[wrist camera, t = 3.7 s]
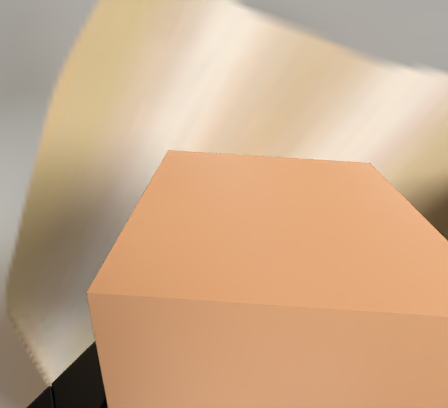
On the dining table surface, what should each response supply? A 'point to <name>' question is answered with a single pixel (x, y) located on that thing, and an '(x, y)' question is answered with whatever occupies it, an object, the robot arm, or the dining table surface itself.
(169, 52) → the dining table surface
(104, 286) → the brick bottom
